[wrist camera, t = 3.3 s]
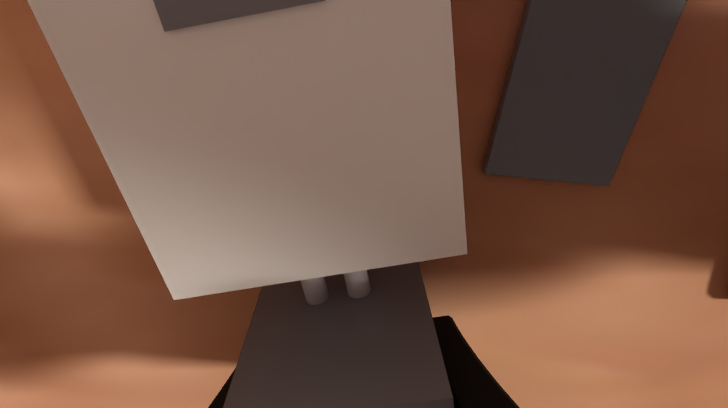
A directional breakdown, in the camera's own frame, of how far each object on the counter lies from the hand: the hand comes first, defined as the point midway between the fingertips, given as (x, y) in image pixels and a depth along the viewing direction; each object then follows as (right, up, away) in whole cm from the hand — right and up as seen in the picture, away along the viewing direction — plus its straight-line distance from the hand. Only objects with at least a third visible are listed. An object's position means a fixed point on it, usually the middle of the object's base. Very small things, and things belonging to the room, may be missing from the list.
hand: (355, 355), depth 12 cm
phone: (+6, +8, -2) cm, 10 cm away
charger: (0, +2, +1) cm, 2 cm away
